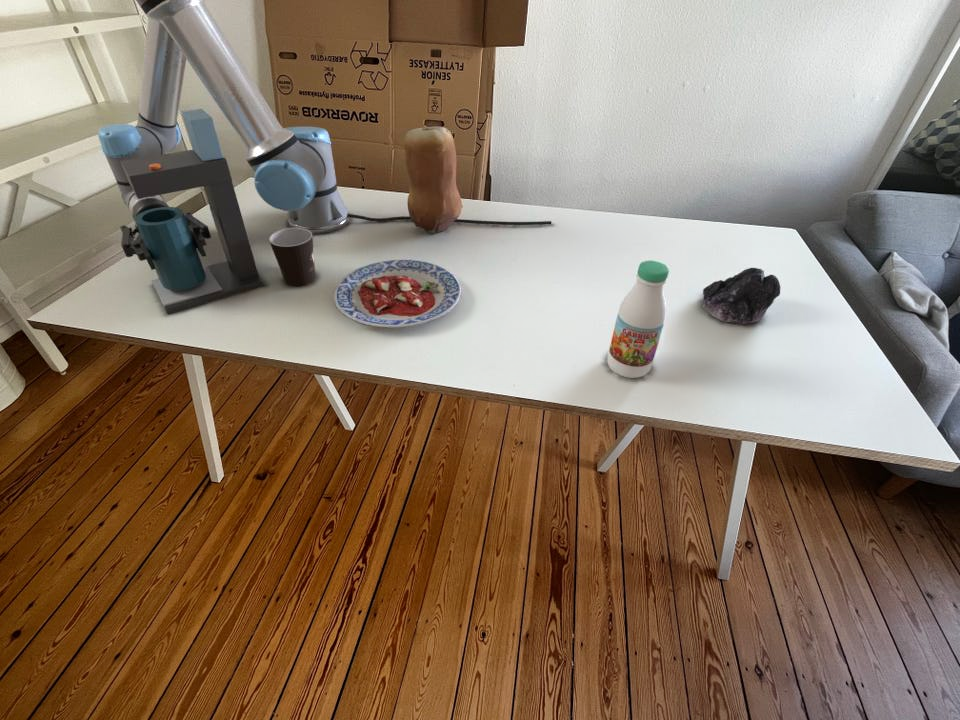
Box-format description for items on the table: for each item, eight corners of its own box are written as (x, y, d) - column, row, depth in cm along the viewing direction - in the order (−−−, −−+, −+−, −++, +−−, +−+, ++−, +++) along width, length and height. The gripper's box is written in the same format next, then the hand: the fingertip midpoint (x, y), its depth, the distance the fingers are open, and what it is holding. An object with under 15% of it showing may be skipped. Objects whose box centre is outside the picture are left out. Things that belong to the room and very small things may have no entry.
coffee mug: (309, 291, 109) (300, 248, 103) (272, 286, 111) (260, 243, 104) (332, 265, 118) (325, 224, 112) (297, 260, 119) (288, 220, 113)
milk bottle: (601, 352, 96) (622, 255, 83) (642, 351, 96) (669, 254, 84) (613, 380, 90) (638, 279, 77) (656, 378, 90) (688, 278, 78)
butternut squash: (422, 215, 140) (417, 116, 124) (469, 223, 137) (470, 123, 121) (399, 236, 130) (391, 132, 114) (449, 246, 127) (447, 139, 111)
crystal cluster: (686, 311, 108) (702, 272, 101) (713, 282, 115) (729, 244, 108) (749, 341, 102) (771, 302, 95) (773, 308, 110) (795, 270, 102)
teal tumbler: (210, 269, 110) (189, 206, 101) (199, 289, 104) (175, 224, 95) (170, 270, 109) (144, 207, 101) (156, 291, 103) (127, 225, 94)
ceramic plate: (331, 340, 97) (329, 327, 95) (338, 271, 116) (336, 259, 114) (468, 330, 100) (469, 317, 98) (453, 264, 120) (453, 253, 118)
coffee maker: (153, 285, 110) (81, 119, 89) (244, 261, 119) (198, 105, 98) (167, 314, 102) (91, 139, 81) (264, 285, 111) (218, 121, 90)
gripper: (209, 219, 120) (239, 259, 106) (104, 242, 110) (122, 289, 96) (198, 187, 116) (228, 225, 102) (88, 209, 106) (105, 253, 92)
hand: (177, 256), depth 99 cm, fingers closed on teal tumbler, 8 cm apart
